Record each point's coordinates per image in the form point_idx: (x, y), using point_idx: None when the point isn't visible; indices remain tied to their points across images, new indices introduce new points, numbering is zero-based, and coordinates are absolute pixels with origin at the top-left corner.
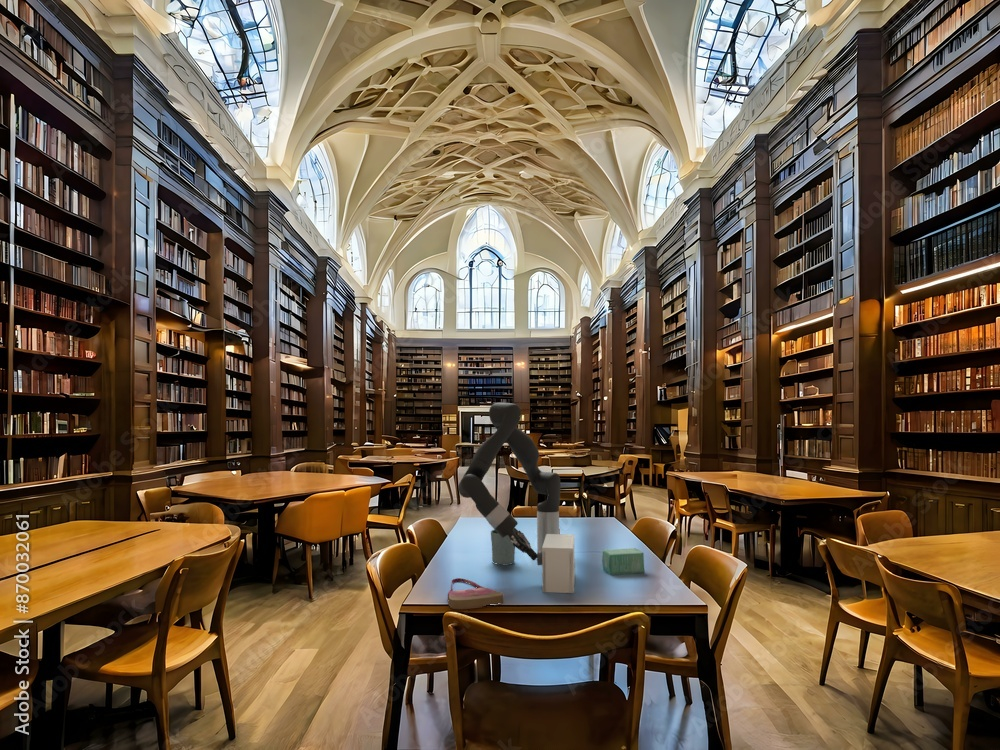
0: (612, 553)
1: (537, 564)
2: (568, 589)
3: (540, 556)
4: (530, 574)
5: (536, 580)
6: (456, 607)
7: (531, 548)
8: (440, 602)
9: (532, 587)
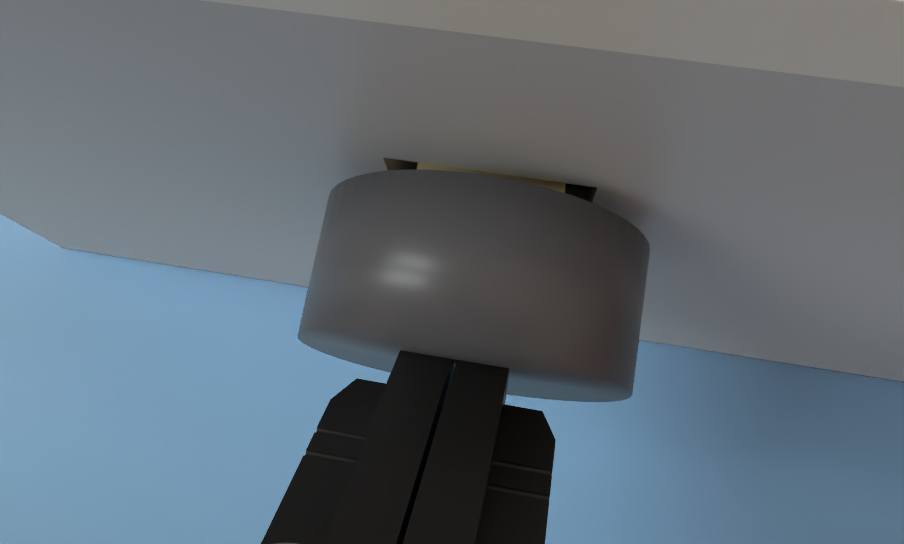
0: None
1: (560, 397)
2: None
3: (631, 296)
4: (71, 496)
5: None
6: None
7: (383, 535)
8: None
9: (764, 526)
